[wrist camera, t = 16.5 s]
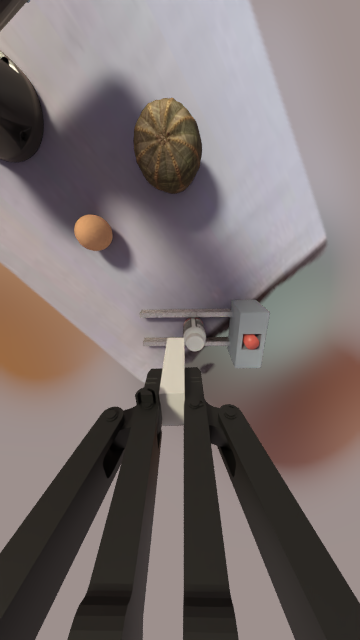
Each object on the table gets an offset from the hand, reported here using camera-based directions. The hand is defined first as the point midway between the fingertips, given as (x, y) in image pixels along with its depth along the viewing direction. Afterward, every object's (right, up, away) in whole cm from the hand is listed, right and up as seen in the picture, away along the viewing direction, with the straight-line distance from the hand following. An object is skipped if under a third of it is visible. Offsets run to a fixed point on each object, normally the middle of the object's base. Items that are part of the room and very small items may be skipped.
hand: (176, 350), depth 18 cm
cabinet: (+16, +1, +34) cm, 38 cm away
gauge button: (+16, 0, +30) cm, 34 cm away
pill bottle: (+4, +1, +34) cm, 35 cm away
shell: (-1, +34, +21) cm, 40 cm away
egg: (-17, +22, +26) cm, 38 cm away
